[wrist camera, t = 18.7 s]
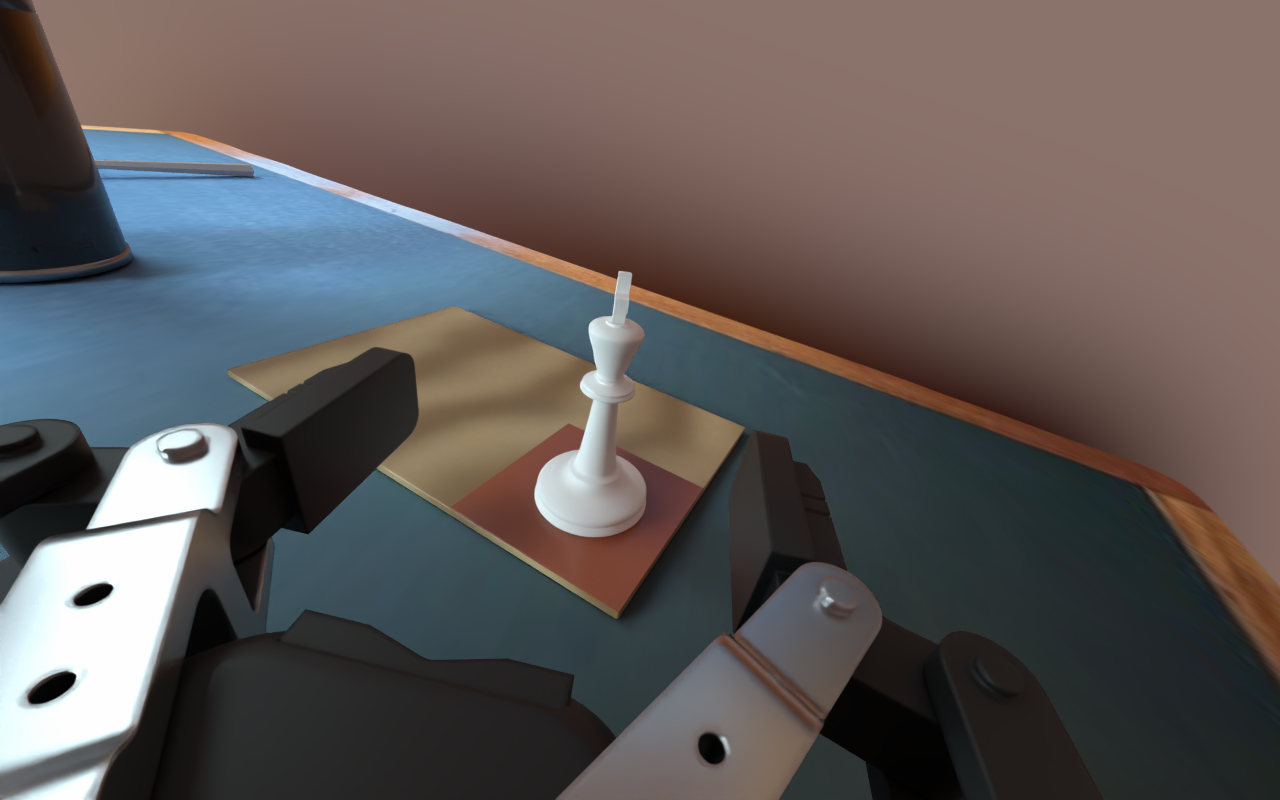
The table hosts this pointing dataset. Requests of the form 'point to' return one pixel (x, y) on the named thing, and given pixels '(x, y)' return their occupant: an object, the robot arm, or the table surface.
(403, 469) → the corner board
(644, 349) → the table surface
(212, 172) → the wind turbine model
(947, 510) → the table surface
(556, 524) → the chess piece
